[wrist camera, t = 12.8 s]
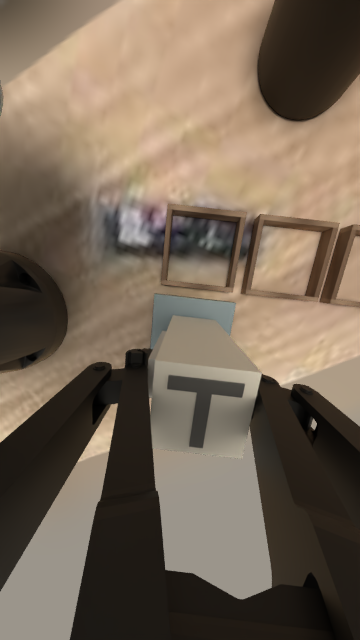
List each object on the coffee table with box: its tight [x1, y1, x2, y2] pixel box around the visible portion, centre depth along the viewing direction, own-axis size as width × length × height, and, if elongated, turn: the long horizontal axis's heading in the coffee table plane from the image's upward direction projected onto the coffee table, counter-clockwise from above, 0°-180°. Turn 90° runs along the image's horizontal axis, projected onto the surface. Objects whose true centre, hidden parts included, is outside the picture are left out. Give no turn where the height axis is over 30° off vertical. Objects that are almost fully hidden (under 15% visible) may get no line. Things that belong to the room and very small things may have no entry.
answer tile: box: [150, 294, 236, 349], centre depth 22 cm, size 10×9×1 cm
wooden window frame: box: [241, 214, 339, 302], centre depth 19 cm, size 8×8×2 cm
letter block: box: [150, 315, 262, 459], centre depth 14 cm, size 5×5×12 cm
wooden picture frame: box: [161, 204, 247, 292], centre depth 20 cm, size 8×8×2 cm
